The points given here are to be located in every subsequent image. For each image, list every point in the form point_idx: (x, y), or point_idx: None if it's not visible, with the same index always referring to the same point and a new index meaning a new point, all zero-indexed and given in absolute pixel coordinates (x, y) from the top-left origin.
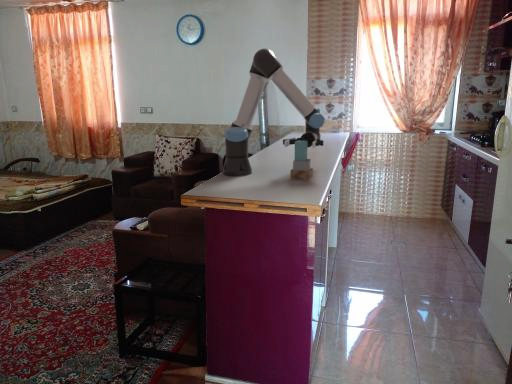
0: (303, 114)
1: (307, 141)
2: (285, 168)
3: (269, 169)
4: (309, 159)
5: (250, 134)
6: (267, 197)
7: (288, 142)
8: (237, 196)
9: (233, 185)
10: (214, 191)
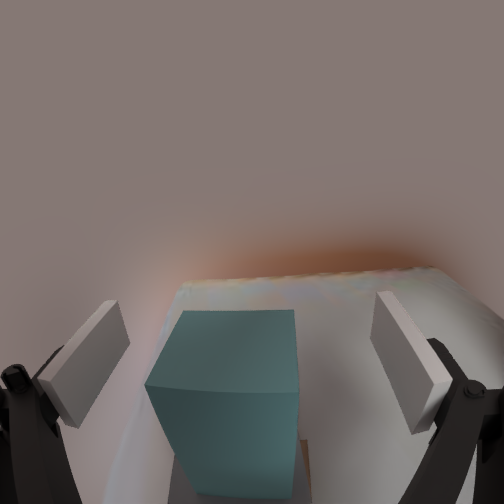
0: None
1: (146, 389)
2: None
3: None
4: (176, 489)
5: None
6: (288, 289)
7: (406, 371)
8: (351, 281)
9: (433, 325)
10: (419, 287)
